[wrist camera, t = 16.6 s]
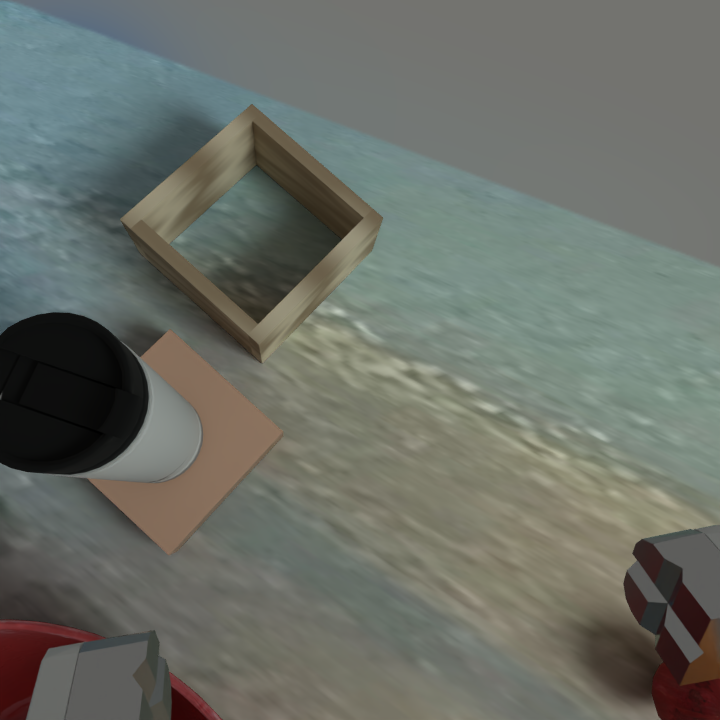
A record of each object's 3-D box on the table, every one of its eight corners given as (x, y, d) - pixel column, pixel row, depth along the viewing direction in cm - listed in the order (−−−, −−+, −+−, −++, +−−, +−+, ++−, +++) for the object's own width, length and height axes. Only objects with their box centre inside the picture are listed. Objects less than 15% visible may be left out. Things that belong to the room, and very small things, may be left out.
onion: (645, 737, 44) (723, 789, 36) (619, 654, 45) (689, 687, 37) (715, 712, 45) (804, 757, 37) (687, 631, 46) (769, 659, 38)
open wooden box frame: (262, 363, 46) (258, 344, 41) (140, 253, 47) (119, 219, 41) (372, 250, 50) (383, 217, 44) (255, 149, 50) (251, 104, 45)
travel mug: (187, 497, 41) (96, 501, 21) (94, 465, 40) (-84, 439, 21) (222, 411, 42) (166, 341, 23) (132, 379, 42) (-2, 281, 23)
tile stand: (176, 551, 43) (168, 555, 40) (66, 447, 43) (50, 443, 40) (283, 435, 45) (283, 431, 42) (177, 339, 46) (169, 328, 43)
